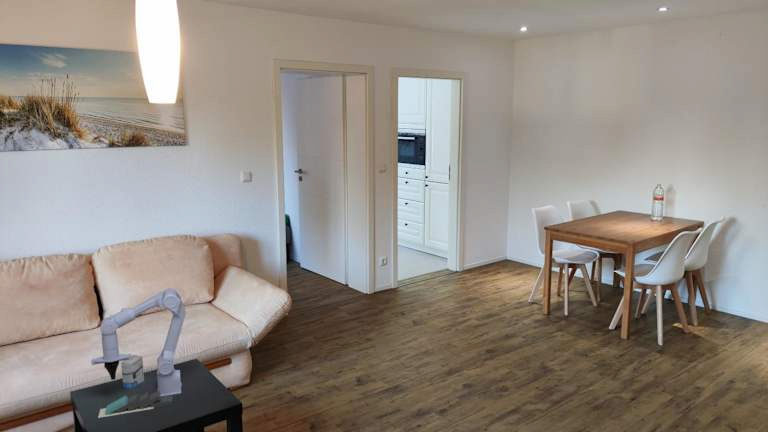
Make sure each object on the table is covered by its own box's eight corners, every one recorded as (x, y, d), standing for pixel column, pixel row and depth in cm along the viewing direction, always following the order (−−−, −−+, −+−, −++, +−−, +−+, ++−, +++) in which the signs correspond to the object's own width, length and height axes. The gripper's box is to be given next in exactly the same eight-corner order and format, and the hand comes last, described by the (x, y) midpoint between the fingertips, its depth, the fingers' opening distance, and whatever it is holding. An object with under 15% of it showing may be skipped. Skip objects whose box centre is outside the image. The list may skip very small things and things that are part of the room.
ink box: (132, 389, 241) (130, 363, 239) (122, 388, 242) (120, 362, 240) (144, 380, 250) (142, 355, 248) (134, 379, 250) (132, 354, 249)
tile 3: (130, 405, 227) (149, 395, 229) (129, 411, 222) (149, 400, 224) (128, 402, 226) (147, 392, 228) (127, 408, 222) (147, 397, 224)
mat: (154, 400, 231) (154, 400, 231) (153, 408, 224) (153, 408, 224) (100, 409, 224) (100, 409, 224) (98, 418, 218) (98, 417, 217)
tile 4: (141, 403, 228) (160, 393, 230) (140, 409, 224) (160, 398, 226) (139, 400, 228) (158, 390, 230) (138, 406, 223) (158, 395, 225)
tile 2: (119, 407, 226) (139, 396, 227) (118, 413, 221) (138, 402, 223) (117, 403, 225) (137, 393, 227) (116, 409, 220) (136, 399, 222)
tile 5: (151, 401, 230) (172, 398, 232) (151, 407, 225) (172, 404, 228) (151, 398, 229) (172, 395, 232) (151, 403, 225) (172, 400, 227)
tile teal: (108, 408, 224) (128, 398, 226) (107, 414, 219) (127, 404, 221) (106, 405, 224) (126, 395, 226) (105, 411, 219) (124, 400, 221)
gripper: (130, 341, 233) (133, 371, 235) (91, 346, 228) (95, 377, 231) (129, 347, 227) (132, 378, 229) (89, 352, 222) (92, 384, 224)
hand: (113, 378), depth 229 cm, fingers closed
